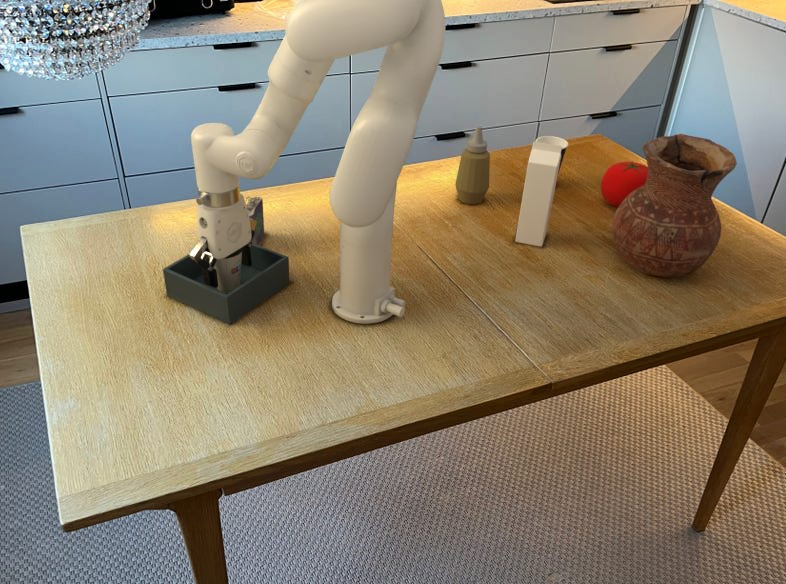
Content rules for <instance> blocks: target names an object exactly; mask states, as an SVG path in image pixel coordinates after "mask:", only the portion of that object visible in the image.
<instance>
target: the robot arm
mask: <svg viewBox="0 0 786 584" xmlns="http://www.w3.org/2000/svg"><path fill="white" fill-rule="evenodd" d="M445 38H446V15H445V9H444V5H443V1H442V0H299V1H298V2H297V3H296V4H295V5H294V6H293V7H292V9H291V10H290V12H289V14H288V16H287V18H286V23H285V34H284V36H283V39H282V41H281V42H280V45H279V46H278V49H277V51H276V53H275V54H274V56H273V58H272V59H271V62H270V64H269V66H268V69H267V78H268V86H267V87H266V91H265V92H264V95H263V97H262V99H261V101H260V103H259V105H258V107H257V109H256V110H255V113H254V115H253V117H252V118H251V120H250V122H249V124H247V125H246V127H245V128H244V129H243V131H242V132H240V133H238V134H237V135H236V134H235V131H234V130H233V128H232V127H231V126H229V125H228V124H225V123H222V122H207V123H202V124H199V125H197V126H196V127H195V128H193V129H192V132H191V135H190V139H191V140H190V142H191V149H192V157H193V165H194V173H195V180H196V181H195V182H196V187H197V194H198V197H197V198H196V199H195V202H196V203H197V214H196V215H197V217H196V219H197V221H196V225H197V227H196V228H197V238H198V242H197V243H196V245H195V246H194V248H193V249H192V250H191V251H190V253H189V254H190V255H189V256H190V258H191V259H192V261H193V262H194V264H196V265H197V266H199V267H201V268H202V272H203V279H204V283H205V284H207V285H209V286H212V287H214V288H216V287H218V279H217V271H216V269H214V266H215V263H216V261H217V259H218V260H221V259H223V258H225V257H227V256H228V255H230V254H232V253H233V252H235V251H237V250H238V249H240V248H242V247H243V250H242V260H241V264H244V265H246V266H251V265H252V261H251V250H250V247H251V246H252V239H253V237H254V235H255V231H254V230H255V227H256V223H257V221H256V220H254V219H251V218H249V214H248V209H247V201H246V198H245V197H244V195H243V194H242V193H241V187H240V178H242V179H246V180H259V179H263V178H265V177H266V176H267V175H268V174H269V173H270V171H271V170H272V168H273V167H274V166H275V164H276V162H277V161H278V159H279V158H280V156H281V155H282V153H283V152H284V151H285V150H286V148H287V146H288V144H289V142H290V140H291V138H292V136H293V134H294V132H295V131H296V129H297V127H298V125H299V124H300V122H301V120H302V118H303V116H304V114H305V113H306V110H307V109H308V107H309V105H311V103H313V101H314V98H315V97H316V95H317V94H318V92H319V89H320V88H321V86H322V84H323V83H324V80H325V78H326V77H327V75H328V73H329V71H330V70H331V67H332V65H333V64H334V62H335V60H337V59H343V58H346V57H350V56H354V55H358V54H361V53H366V52H369V51H373V50H377V49H381V48H384V47H386V49H385V52H384V54H383V57H382V59H381V63H380V67H379V70H378V73H377V76H376V78H375V81H374V83H373V87H372V89H371V91H370V93H369V96H368V98H367V99H366V102H365V103H364V104H363V106H362V108H361V109H360V111H359V112H358V115H357V117H356V118H355V121H354V122H353V125H352V127H351V129H350V132H349V134H348V137H347V141H346V143H345V146H344V149H343V152H342V155H341V158H340V161H339V164H338V165H337V169H336V172H335V174H334V177H333V181H332V183H331V186H330V190H329V195H328V197H329V205H330V207H331V208H330V209H331V211H332V213H333V214H334V217H335V218H337V220H338V221H339V222H340V223H339V289H338V290H337V291H336V292H335V293H334V294H333V296H332V298H331V308H332V310H333V312H334V313H335V314H336V315H337V316H338V317H340V318H341V319H343V320H345V321H348V322H350V323H355V324H362V325H363V324H364V325H365V324H366V325H367V324H369V325H370V324H376V323H381V322H383V321H385V320H386V321H387V320H388V319H389V318H391V317H392V316H393V315H394V316H395V317H399V318H403V316H404V315H405V311H406V309H405V306H406V303H407V302H406V300H403V299H402V298H398V297H397V296H396V295H395V294H396V293H395V292H396V288H395V287H394V286H391V274H392V273H391V270H392V252H393V250H392V249H393V236H394V235H393V234H394V221H395V219H394V216H395V207H396V206H395V205H396V195H397V188H398V187H397V186H398V180H399V178H400V175H401V173H402V170H403V168H404V166H405V163H406V160H407V157H408V155H409V153H410V150H411V147H412V144H413V142H414V139H415V136H416V133H417V128H418V123H419V119H420V116H421V113H422V110H423V108H424V105H425V103H426V100H427V98H428V94H429V92H430V89H431V87H432V85H433V84H432V83H433V81H434V78H435V76H436V73H437V70H438V67H439V64H440V61H441V58H442V54H443V51H444V45H445V40H446V39H445ZM209 251H210V252H209ZM201 254H202V256H201ZM208 256H211V259H210V261H209V263H207V262H206V261H207V258H208Z"/></svg>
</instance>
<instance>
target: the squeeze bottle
mask: <svg viewBox="0 0 786 584" xmlns="http://www.w3.org/2000/svg"><path fill="white" fill-rule="evenodd" d="M483 137H484V136H483V128H482V126H480V125H477V126H476V127H475V130H474V133H473V136H472V138H470V139H469V140H467V142H466V147H465V149H463V150H462V151H461V157H460V160H459V164H458V170H457V174H456V179H455V182H454V183H455V184H454V185H455V189H456V193H457V197H458V200H459V201H460V202H462V203H464V204H469V205H477V204H480V203H482V202H483V200H484V199H485V196H486V194H487V192H488V191H489V188H490V169H491V167H490V166H491V153H490V152H489V151H488V149H487V148H488V142H487V141H486V140H484V138H483Z"/></svg>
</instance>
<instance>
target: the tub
mask: <svg viewBox="0 0 786 584" xmlns="http://www.w3.org/2000/svg"><path fill="white" fill-rule="evenodd" d="M250 250H251V261H252V265H251V266H246V265H244V264H241V284H240V286H239V287H237V288H236V289H234V290H233V291H231V292H230V293H223V292H220V291H219V290H218V289H217V287H216V288H214V287H212V286H209V285H207V284H205V283H204V279H203V272H202V268H201V267H199V266H197V265H196V264H194V262H193V261H192V259H191V258H190V256H189V255H190V253H188V254H187V255H184V256H183V257H181V258H179V259H178V260H176V261H174V262H173V263H170V264H169V265H168V266H167V265H166V267H164V268H162V274H163V280H164V285H165V291H166V296H167V297H168V298H171V299H173V300H174V301H177V302H180V303H182V304H184V305H185V306H188V307H190V308H193V309H195V310H197V311H200V312H202V313H204V314H205V315H208V316H210V317H212V318H215V319H217V320H218V321H221V322H223V323H226V324H228V325H231V324H233V323H234V322H236V321H237V320H239V319H240V318H241V317H243V316H244V315H246V314H247V313H249V312H250V311H252V310H253V309H254V308H256V307H257V306H258V305H260V304H261V303H263V302H264V301H266V300H267V299H269V298H270V297H272V296H274V295H275V294H276V293H278V292H279V291H280V290H282V289H283V288H285V287H286V286H287V285H289V284H290V282H291V280H290V278H291V277H290V262H289V261H290V259H289V256H287V255H285V254H282V253H280V252H277V251H274V250H272V249H270V248H267V247H265V246H262V245H260V246H259V245H257V244H254V243H252V246H251V247H250ZM201 256H202V254H201ZM209 261H210V259H209V256H208V258H207V261H206V262H207V263H209Z"/></svg>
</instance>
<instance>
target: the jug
mask: <svg viewBox="0 0 786 584" xmlns="http://www.w3.org/2000/svg"><path fill="white" fill-rule="evenodd" d="M641 150H642V151H643V153H644V156H645V160H646V164H647V165H646V166H647V167H648V175H647V180H646V183H645V184H644V185H643V186H641V187H639V188H637V189H636V190H634V191H633V192H631V193H630V194H629V195H628V196H627V197H626V198H625V199H624V200H623V201H622V203H621V204H620V205H619V207H618V208H617V209H616V210H615V213H614V216H613V220H612V228H611V229H612V239H613V241H614V245H615V248H616V249H617V252H618V253H619V255H620V257H621V258H622V259H623V260H624V262H625V263H627V264H628V265H629V266H630V267H632V268H634V269H635V270H637V271H639V272H641V273H643V274H646V275H649V276H655V277H661V278H677V277H682V276H684V275H688V274H689V273H691V272H693V271H696V270H697V269H699V268H700V267H702V266H703V265H704V264H705V263H706V262H707V261H708V260H709V258H710V257H711V256H712V255H713V253H714V251H715V249H716V248H717V247H718V244H719V242H720V238H721V235H722V223H721V218H720V214H719V212H718V210H717V207H716V205H715V203H714V201H713V200H712V198H713V194H714V193H715V190H716V189H717V187H718V186H719V184H720V183H721V182H722V181H723V180H725V179H724V178H726V177H727V176H728V175H729V174H730V173H732V171H734V170H735V169H736V166H737V164H738V162H737V159H736V157H735V155H734V153H733V152H732V151H730V150H729V149H728V148H726V147H725V146H723V145H721V144H720V143H717V142H714V141H712V140H711V139H708V138H706V137H698V136H695V135H689V134H684V133H678V134H676V133H675V134H673V135H670V136H669V135H665V136H664V135H663V136H658V137H655V138H654V139H652V140H648V141H646V142H644V143H643V145H642V149H641Z"/></svg>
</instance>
